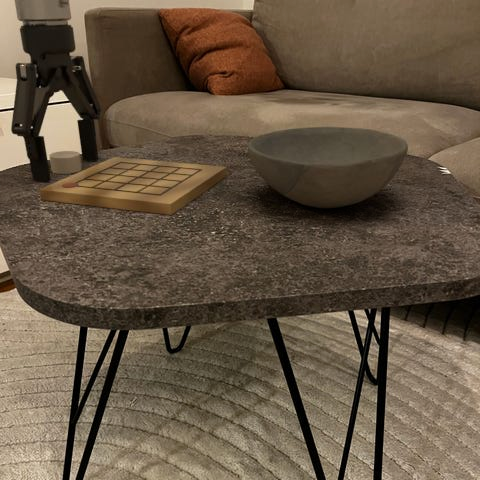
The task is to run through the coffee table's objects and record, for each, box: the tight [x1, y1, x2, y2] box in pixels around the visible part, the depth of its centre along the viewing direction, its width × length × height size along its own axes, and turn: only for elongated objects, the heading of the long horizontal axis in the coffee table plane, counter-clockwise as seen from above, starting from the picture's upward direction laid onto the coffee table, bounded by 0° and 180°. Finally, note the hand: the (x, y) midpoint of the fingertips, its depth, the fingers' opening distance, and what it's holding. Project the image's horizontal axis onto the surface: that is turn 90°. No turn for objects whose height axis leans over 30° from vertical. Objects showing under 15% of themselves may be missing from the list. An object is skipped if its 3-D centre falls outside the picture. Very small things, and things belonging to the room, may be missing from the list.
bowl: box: [246, 126, 409, 209], centre depth 80 cm, size 21×21×8 cm
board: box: [39, 156, 228, 216], centre depth 87 cm, size 20×20×2 cm
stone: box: [48, 150, 83, 175], centre depth 96 cm, size 5×5×3 cm
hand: (67, 169), depth 96 cm, fingers open, 13 cm apart
